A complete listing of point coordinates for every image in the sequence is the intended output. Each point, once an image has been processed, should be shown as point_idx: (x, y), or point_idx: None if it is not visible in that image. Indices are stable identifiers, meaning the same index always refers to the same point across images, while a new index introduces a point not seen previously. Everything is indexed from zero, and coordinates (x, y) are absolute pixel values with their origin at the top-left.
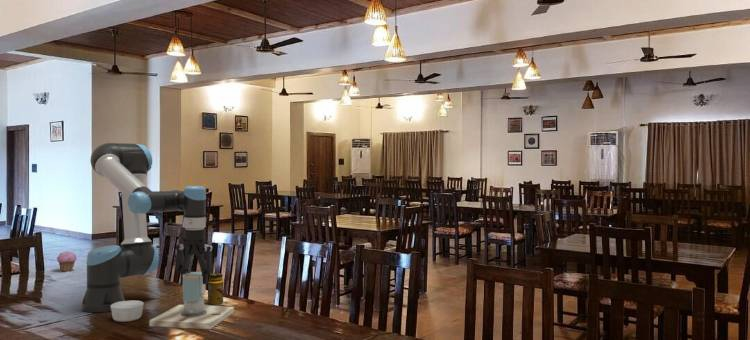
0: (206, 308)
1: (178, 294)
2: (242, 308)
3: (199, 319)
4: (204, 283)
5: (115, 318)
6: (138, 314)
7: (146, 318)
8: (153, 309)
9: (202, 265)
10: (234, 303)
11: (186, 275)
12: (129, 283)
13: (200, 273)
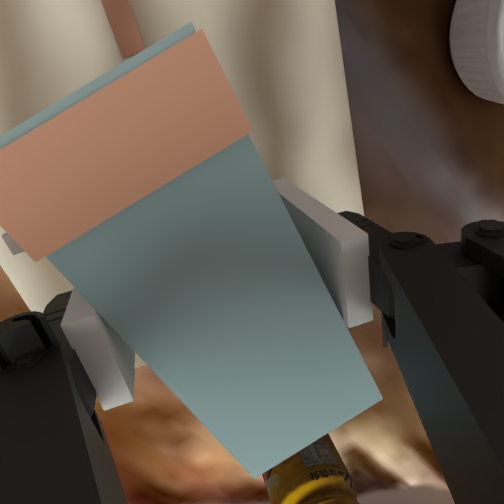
0: None
1: None
2: (106, 428)
3: (27, 85)
4: (64, 293)
5: None
6: (463, 21)
7: (415, 64)
8: (466, 210)
9: (11, 483)
10: (203, 452)
11: (335, 274)
12: None
13: (232, 411)
